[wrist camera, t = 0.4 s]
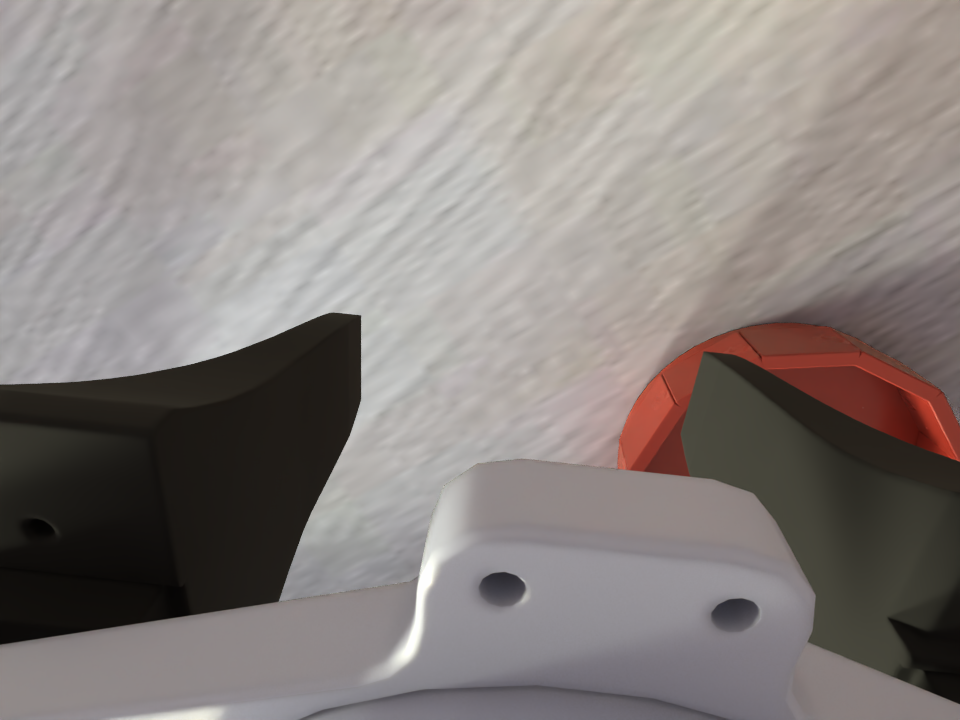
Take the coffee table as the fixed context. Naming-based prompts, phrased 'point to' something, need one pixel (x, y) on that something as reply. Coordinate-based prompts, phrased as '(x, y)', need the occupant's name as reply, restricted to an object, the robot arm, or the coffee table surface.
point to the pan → (807, 366)
